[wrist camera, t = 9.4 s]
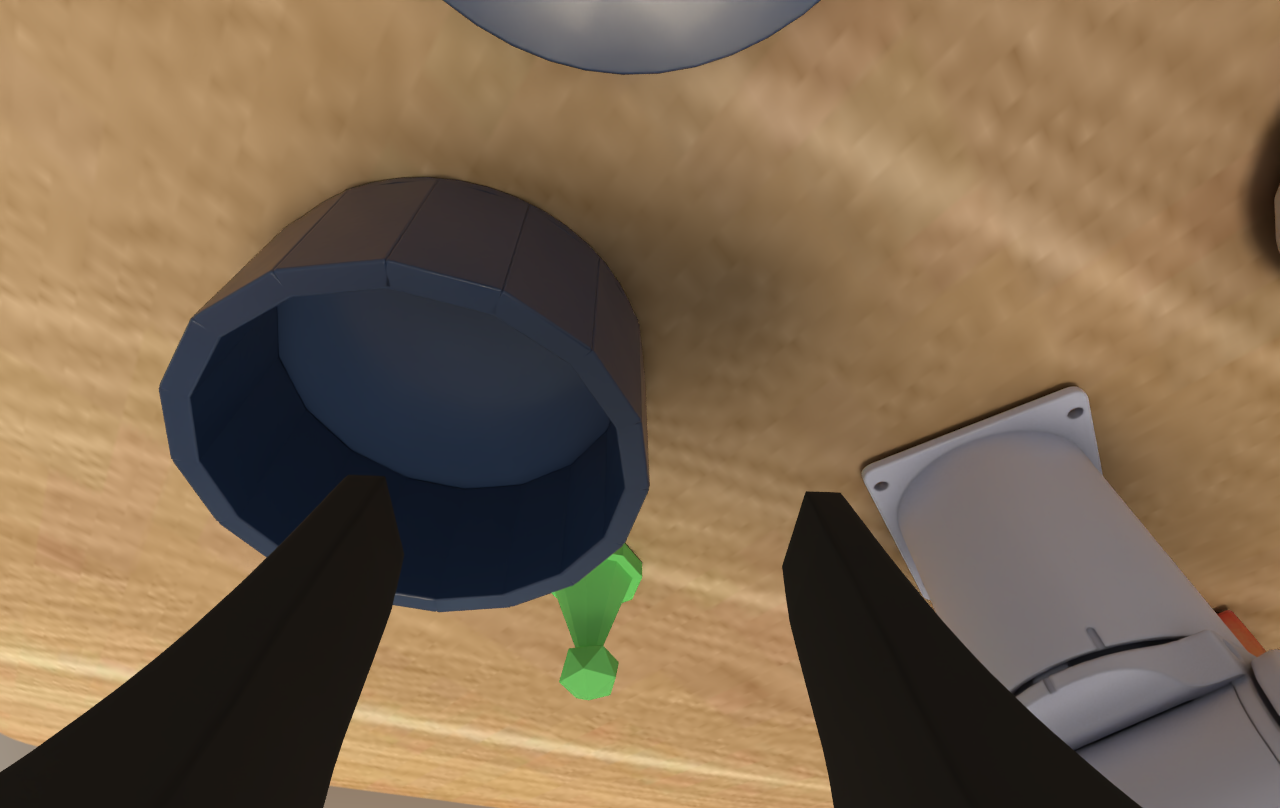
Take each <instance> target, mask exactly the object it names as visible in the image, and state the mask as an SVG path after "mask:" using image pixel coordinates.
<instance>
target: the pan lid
mask: <svg viewBox="0 0 1280 808" xmlns="http://www.w3.org/2000/svg"><path fill="white" fill-rule="evenodd" d="M443 1H444V2H446V3H447V4H448V5H450V6H451V7H452V8H454V9H455V10H456V11H458V12H459V13H460V14H462V15H463V16H464V17H466V18H467V19H469V20H470V21H471V22H473V23H474V24H475V25H477V26H478V27H480V28H482V29H484V30H485V31H487V32H489V33H491V34H492V35H494V36H496V37H498V38H499V39H501V40H503V41H505V42H506V43H508V44H510V45H512V46H514V47H516V48H519V49H521V50H523V51H526V52H528V53H531V54H533V55H536V56H538V57H540V58H543V59H545V60H548V61H551V62H555V63H558V64H562V65H566V66H570V67H574V68H578V69H582V70H585V71H594V72H603V73H612V74H621V75H629V74H659V73H665V72H671V71H676V70H682V69H688V68H693V67H698V66H701V65H704V64H707V63H710V62H713V61H716V60H719V59H722V58H725V57H728V56H731V55H734V54H736V53H738V52H740V51H742V50H744V49H746V48H748V47H750V46H752V45H754V44H756V43H758V42H760V41H763V40H765V39H767V38H768V37H770V36H772V35H773V34H775V33H776V32H778V31H779V30H781V29H782V28H784V27H785V26H787V25H788V24H790V23H792V22H793V21H795V20H796V19H798V18H799V17H801V16H802V15H804V14H805V13H806V12H807V11H808V10H810V9H811V8H812V7H813V6H814V5H816V4H817V3H818V2H819V1H820V0H443Z"/></svg>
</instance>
